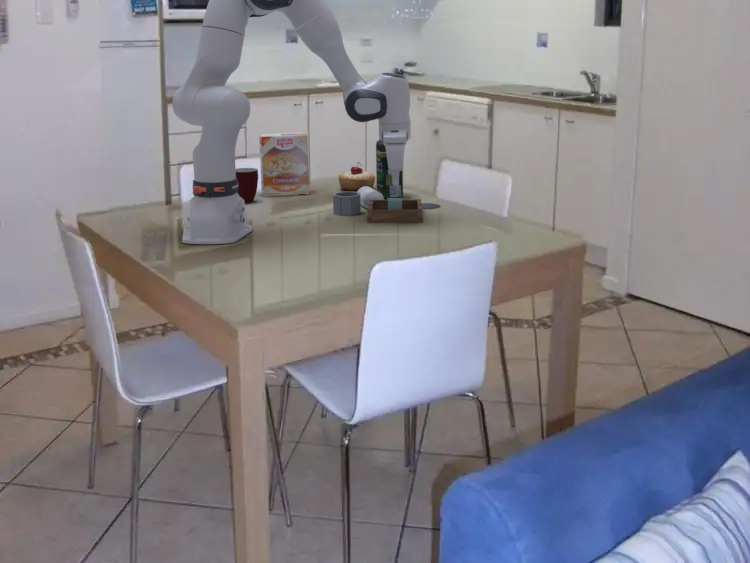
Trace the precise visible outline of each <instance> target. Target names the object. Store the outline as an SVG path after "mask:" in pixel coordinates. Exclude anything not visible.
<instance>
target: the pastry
mask: <svg viewBox="0 0 750 563" xmlns="http://www.w3.org/2000/svg"><path fill="white" fill-rule="evenodd" d="M356 164H357V165H356V166H352V167H351V168H350V171H347V172H340V174H339V175H338V183H339V185H340V188H341V189H342V190H345V191H347V192H357V191H358V190H359V189H360V188H361V187H364V186H368V187H371V188H372V189H373V187H374V185H375V181H376V176H375V175H374V174H373V173H371V172H369V171H363V169H362V164H361V162H359V161H358V162H357V163H356ZM359 165H360V166H361V167H359Z"/></svg>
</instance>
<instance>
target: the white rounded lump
mask: <svg viewBox="0 0 750 563" xmlns="http://www.w3.org/2000/svg"><path fill="white" fill-rule="evenodd" d="M356 192H358V193H361V207H364V208H365V209H366V210H368V204H369V200H385V199H384V197H383V195H382V194H381V193H380V192H378V191H377V189H376V190H375V189H374V188H373V187H372V188H371V187H368V186H364V187H361V188H360V189H359V190H358V191H356Z"/></svg>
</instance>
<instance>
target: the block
mask: <svg viewBox="0 0 750 563" xmlns="http://www.w3.org/2000/svg"><path fill="white" fill-rule="evenodd" d="M402 199H403V198H402V197H400V198H388V199H387V200H388V210H402Z"/></svg>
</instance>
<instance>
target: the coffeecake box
mask: <svg viewBox="0 0 750 563" xmlns="http://www.w3.org/2000/svg"><path fill="white" fill-rule="evenodd" d="M258 138H259V155H260V156H259V157H260V158H259V159H260V180H261V183H260V184H261V185H260V186H261V194H262V196H263V197H264V198H267V197H281V196H282V197H283V196H286V197H287V196H300V195H299V194H307V195H310V176H309V175H310V174H309V173H310V172H309V145H308V143H309V140H308V134H307V133H306V132H305V131H302V132H278V133H277V132H276V133H259V135H258Z"/></svg>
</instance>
